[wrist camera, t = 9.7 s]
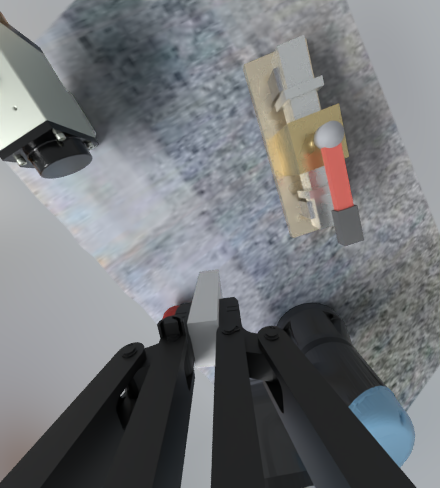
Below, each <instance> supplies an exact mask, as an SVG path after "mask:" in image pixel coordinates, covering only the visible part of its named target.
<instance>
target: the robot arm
mask: <svg viewBox="0 0 440 488" xmlns="http://www.w3.org/2000/svg"><path fill="white" fill-rule="evenodd" d="M157 326H158V330H159V334H160V338H161V339H160V341H159V343H158V344H156V345H153V346H150V347H147V348H144V345H143V344H142V343H138V342H137V343H131V344H128V345H126V346H124V347H123V348H121V349H120V350H119V351H118V352H117V353H116V354H115V355H114V357H113V358H112V359H111V360H110V361H109V362H108V363H107V364H106V366H105V367H104V368H103V369H102V370H101V371H100V372H99V373H98V374H97V376H96V377H95V378H94V379H93V380H92V381H91V382H90V383H89V384H88V386H87V387H86V388H85V389H84V390H83V391H82V392H81V393H80V394H79V396H78V397H77V398H76V399H75V400H74V401H73V402H72V403H71V404H70V406H69V407H68V408H67V409H66V410H65V411H64V412H63V413H62V414H61V416H60V417H59V418H58V419H57V420H56V421H55V422H54V423H53V424H52V426H51V427H50V428H49V429H48V430H47V431H46V432H45V433H44V435H43V436H42V437H41V438H40V439H39V440H38V441H37V442H36V444H35V445H34V446H33V447H32V448H31V449H30V450H29V451H28V452H27V454H26V455H25V456H24V457H23V458H22V459H21V460H20V461H19V463H17V465H16V466H15V467H14V468H13V469H12V471H10V472H9V473H8V475H7V476H6V477H5V478H4V479H3V480H2V481H1V482H0V488H180V487H181V480H182V472H183V464H184V457H185V449H186V441H187V433H188V426H189V418H190V410H191V403H192V395H193V387H194V379H195V374H194V368H193V367H194V361H195V366H196V368H203V367H212V366H215V382H214V412H213V413H214V414H213V442H212V443H213V444H212V470H211V471H212V472H211V488H416V487H415V485H414V484H413V483H412V482H411V481H410V479H409V478H408V477H407V476H406V475H405V473H404V472H403V471H402V470H401V469H400V467H401V466H402V465H403V463H404V462H405V461H406V460H407V458H408V457H409V455H410V454H411V452H412V449H413V446H414V441H415V432H414V427H413V424H412V421H411V419H410V417H409V416H408V414H407V413H406V412H405V410H404V409H403V407H402V406H401V405H400V403H399V402H398V401H397V399H396V398H395V395H394V393H393V392H392V391H391V390H390V389H389V388H387V386H386V385H385V384H384V383H383V382H382V380H381V379H380V378H379V377H378V376H377V374H376V373H375V372H374V371H373V370H372V368H371V367H370V366H369V365H368V364H367V362H366V361H365V360H364V359H363V358H362V356H361V355H360V354H359V353H358V352H357V350H356V349H355V348H354V347H353V345H352V342H351V340H350V337H349V334H348V331H347V328H346V325H345V323H344V322H343V320H342V319H341V318H340V317H339V315H338V314H337V313H336V312H335V311H334V310H332V309H331V308H329V307H327V306H325V305H322V304H317V303H308V304H302V305H299V306H296V307H294V308H292V309H291V310H289V311H288V312H286V313H285V314H284V315H283V316H282V318H281V319H280V320H279V322H278V324H277V326H267V327H264V328H262V329H261V330H260V331H259V332H258V334H257V333H251V332H248V331H246V330H245V329H244V328H243V327H242V324H241V318H240V311H239V304H238V300H237V299H236V298H235V297H230V298H223V297H222V291H221V284H220V277H219V271H218V270H210V271H203V272H199V276H198V280H197V284H196V288H195V292H194V296H193V300H192V303H186V304H181V305H180V306H179V307H178V308H177V309H176V312H175V315H172V316H168V317H166V318H163V319H162V320H161V321H159V323H158V324H157ZM124 389H125V393H124V394H123V395H122V396H120V395H121V394H122V392H123V391H124Z"/></svg>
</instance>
